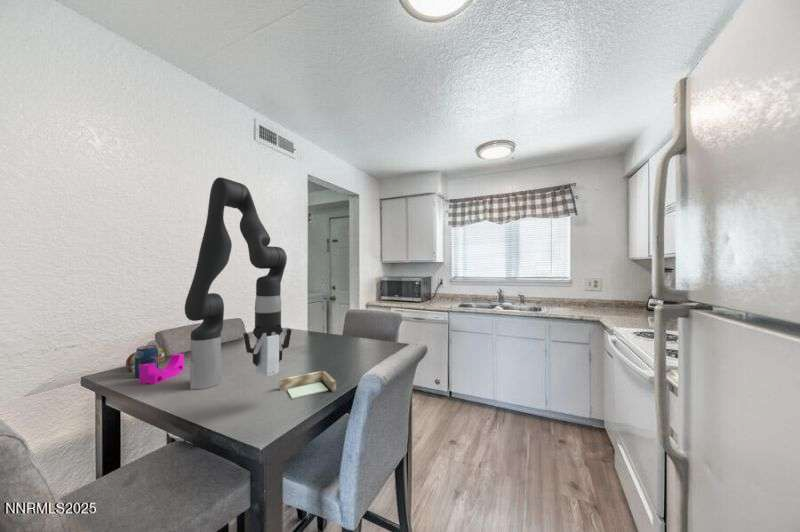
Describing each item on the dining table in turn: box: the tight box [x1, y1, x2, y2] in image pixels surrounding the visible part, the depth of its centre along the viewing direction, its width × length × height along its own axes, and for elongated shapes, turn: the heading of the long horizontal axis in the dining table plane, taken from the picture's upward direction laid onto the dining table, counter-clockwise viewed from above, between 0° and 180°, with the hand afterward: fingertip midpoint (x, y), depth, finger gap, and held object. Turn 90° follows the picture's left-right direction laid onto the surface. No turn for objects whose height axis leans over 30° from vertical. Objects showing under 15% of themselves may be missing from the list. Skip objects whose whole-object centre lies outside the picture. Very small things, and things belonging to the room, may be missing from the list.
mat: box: [286, 381, 329, 400], centre depth 102 cm, size 12×8×1 cm, turn 122°
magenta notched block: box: [138, 353, 185, 385], centre depth 114 cm, size 15×6×8 cm, turn 173°
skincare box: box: [255, 335, 280, 377], centre depth 91 cm, size 6×4×12 cm
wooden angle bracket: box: [278, 370, 337, 393], centre depth 102 cm, size 16×13×4 cm
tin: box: [125, 346, 167, 372], centre depth 124 cm, size 15×3×8 cm, turn 169°
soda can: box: [134, 344, 159, 379], centre depth 115 cm, size 7×7×12 cm
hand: (267, 363), depth 91 cm, fingers closed on skincare box, 5 cm apart
